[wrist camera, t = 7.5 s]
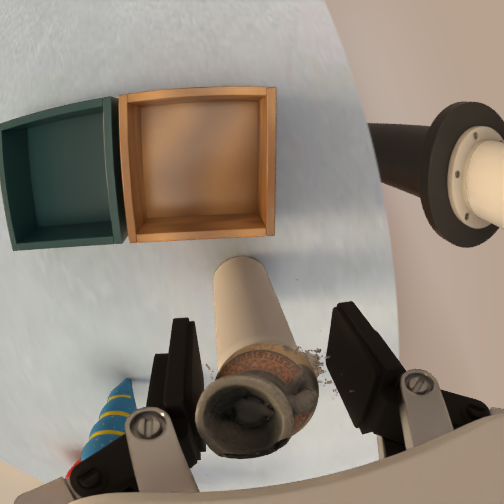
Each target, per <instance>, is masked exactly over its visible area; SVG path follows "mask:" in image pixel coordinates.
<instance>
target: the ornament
mask: <svg viewBox="0 0 504 504" xmlns="http://www.w3.org/2000/svg"><path fill="white" fill-rule="evenodd" d="M135 410H137V408H136V403H135V399H134V395H133V389H132V382H131V380H130V379H128V378H126V379H125V380H124V381H123V382H122V383H120V384H119V385H118V386H117V387H116V388H114V389H113V390H112V391H111V393H110V395H109V397H108V401H107V404H106V405H105V406H104V408H103V409H102V411H101V413H100V416H99V421H98V422H97V423H96V424H95V425H94V426H93V428H92V430H91V432H90V440H89V442H88V443H87V444H86V445H85V447H84V449H83V451H82V454H81V461H83V460H85V459H86V458H88V457H89V456H91V455H93V454H94V453H96V452H97V451H99V450H100V449H102V448H104V447H105V446H107V445H108V444H110V443H111V442H113V441H114V440H116V439H117V438H119V437H120V436H122V435H123V434H125V433H126V432H125V422H126V420H127V418H128V416H129V415H130V414H131V413H132V412H134V411H135Z"/></svg>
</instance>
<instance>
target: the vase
mask: <svg viewBox="0 0 504 504" xmlns="http://www.w3.org/2000/svg"><path fill="white" fill-rule="evenodd" d="M296 281H297V279H296ZM236 289H237V288H236ZM300 348H301V347H300ZM298 350H299V346H298V347H296V348H294V349H293V348H291V347H289V346H287V345H284V344H280V343H273V342H263V343H256V344H252V345H249V346H246V347H244V348H242V349H240V350H238V351H237V352H235V353H234V354H233V355H231V356H230V357H229V358H228V359H227V360H226V361H225V362H224V364H223V365H222V367H221V368H220V370H219V372H218V374H217V376H216V379H215V381H214V382H212V383H211V384H210V385H208V386H207V388H206V389H205V390H204V391H203V392H202V394H201V396H200V399H199V401H198V403H197V407H196V413H195V422H196V427H197V431H198V433H199V434H200V436H201V438H202V439H203V440H204V442H205V443H206V444H207V445H208V447H209V448H210V449H211V450H212V451H213V452H215V453H216V454H217V455H218V456H221V457H226V458H236V459H247V458H256V457H260V456H264V455H268V454H271V453H273V452H275V451H277V450H278V449H279V448H282V447H283V446H284V445H286V444H287V442H288V441H289V439H290V438H291V436H293V435H294V434H296V433H297V432H299V431H300V430H301V429H302V428H303V427H304V426H305V425H306V424H307V423H308V422H309V420H310V419H311V417H312V416H313V414H314V412H315V409H316V406H317V403H318V397H319V386H318V383H319V382H320V383H322V381H320V380H319V381H317V377H318V376H319V374H321V373H324V372H326V371H324V370H321V367H319V366H320V365H321V366H323V363H320V362H319V361H318V360H319V359H320V357H319V356H318V355H317V354H315V355H312V354H310V353H309V351H310V350H307V351H306V350H305V352H306V353H304V352H298ZM302 351H303V350H302ZM311 351H312V350H311ZM314 351H315V352H316V353H317V352H319V353H320V352H321V349H320V350H319V349H318V348H317V351H316V350H314ZM322 356H323V355H322ZM322 356H321V357H322ZM325 358H327V357H325ZM328 358H329V357H328ZM206 366H207V368H208V370H210V368H209V367H208V365H207V364H206ZM212 372H213V371H212ZM211 375H212V374H211ZM341 375H342V374H341ZM322 377H323V376H322ZM210 378H211V379H213V378H212V376H211V377H210ZM325 381H326V379H325ZM327 383H328V384H331V383H332V381H327ZM327 383H326V382H325V384H327ZM324 386H325V385H324ZM336 390H337V389H335V390H334V389H333V392H334V391H336ZM350 392H351V391H350ZM336 393H338V392H336ZM335 396H337V394H335ZM333 399H334V398H333ZM333 399H332V400H333ZM207 475H208V474H207Z"/></svg>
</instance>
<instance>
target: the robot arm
mask: <svg viewBox="0 0 504 504" xmlns="http://www.w3.org/2000/svg"><path fill="white" fill-rule="evenodd" d="M447 187H448V196H449V200H450V204H451V207H452V209H453V211H454V213H455V215H456V216H457V218H458V219H459V220H460V221H461V222H462V223H463V224H465V225H467V226H469V227H472V228H475V229H480V228H484V227H486V226H488V225H490V224H491V223H492V224H494V225H496V226H498V227H500V228H502V229H504V140H503V139H502V137H501V136H500V135H499V134H498V133H497V132H496V131H495V130H493V129H492V128H490V127H485V126H474V127H471V128H469V129H468V130H466V131H465V132H464V133H463V134H462V135H461V136H460V138H459V139H458V141H457V143H456V144H455V146H454V149H453V151H452V154H451V158H450V162H449V167H448V175H447ZM326 357H327V358H326V366H327V368H328V370H329V373H330V375H331V377H332V379H333V381H334V383H335V385H336V388H337V390H338V392H339V394H340V396H341V398H342V400H343V403H344V405H345V407H346V409H347V411H348V413H349V416H350V418H351V420H352V422H353V424H354V426H355V427H356V428H360V430H361V433H362V434H366V433H369V432H373V433H374V434H376V435H377V442H378V452H379V460H378V461H375V462H372V463H369V464H366V465H363V466H359V467H356V468H352V469H349V470H345V471H341V472H338V473H334V474H330V475H325V476H321V477H317V478H312V479H307V480H302V481H297V482H292V483H286V484H280V485H274V486H267V487H259V488H251V489H241V490H230V491H214V492H200V491H199V489H198V487H197V485H196V482H195V480H194V477H193V475H192V472H191V470H190V468H192V467H193V466H194V465H195V464H196V463H197V460H201V453H200V452H206V443H205V442H204V440H203V439H202V438H201V436H200V434H199V433H198V431H197V427H196V422H195V413H196V407H197V403H198V401H199V399H200V396H201V394H202V392H203V391H204V378H203V371H202V365H201V359H200V353H199V347H198V341H197V334H196V328H195V322H194V321H189V318H174V319H173V324H172V331H171V338H170V346H169V353H167V354H155V357H154V361H153V367H152V373H151V379H150V385H149V391H148V398H147V404H146V407H143V408H140V409H137V410H135V411H134V412H132V413H131V414H130V415H129V416H128V418H127V420H126V422H125V432H126V433H125V434H123V435H122V436H120V437H119V438H117V439H116V440H114V441H113V442H111V443H110V444H108V445H107V446H105V447H104V448H102V449H100V450H99V451H97V452H96V453H94V454H93V455H91V456H89V457H88V458H86V459H85V460H83V461H81V462H80V463H78V464H77V465H76V466H75V467H74V468H73V470H72V471H71V474H70V477H68V478H65V479H64V478H63V477H60V478H58V479H56V480H54V481H51V482H49V483H47V484H45V485H42V486H40V487H38V488H35V489H33V490H31V491H28V492H26V493H23V494H21V495H20V496H18V497H17V498H16V500H15V501H14V504H504V409H500V408H495V407H491V409H490V410H489V409H488V407H487V406H486V405H485V404H484V403H483V402H481V401H479V400H476V399H473V398H469V397H465V396H461V395H458V394H454V393H451V392H448V391H444V390H441V389H440V387H439V384H438V382H437V380H436V378H435V377H434V376H433V375H432V374H431V373H429V372H427V371H425V370H421V369H412V370H408V371H406V370H405V369H404V367H403V366H402V365H401V363H400V362H399V360H398V359H397V358H396V356H395V355H394V354H393V352H392V351H391V349H390V348H389V347H388V345H387V344H386V343H385V341H384V340H383V339H382V337H381V336H380V335H379V333H378V332H377V331H375V330H374V329H373V327H372V326H371V325H370V323H369V322H368V321H367V319H366V318H365V317H364V316H363V314H362V313H361V312H360V310H359V309H358V308H357V306H356V305H355V304H354V303H353V302H352V301H350V302H343V303H338V304H337V307H334V308H333V311H332V319H331V327H330V334H329V341H328V347H327V354H326ZM328 357H329V358H328ZM341 374H342V375H341ZM350 391H351V392H350Z"/></svg>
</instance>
